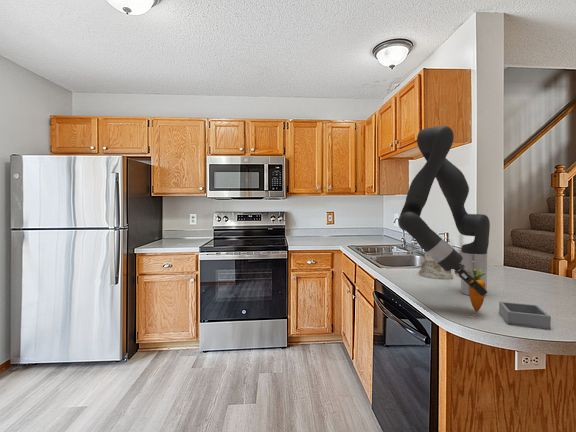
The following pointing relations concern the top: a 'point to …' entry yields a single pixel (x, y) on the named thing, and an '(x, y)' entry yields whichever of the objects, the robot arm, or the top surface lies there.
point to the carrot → (474, 295)
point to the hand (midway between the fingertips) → (483, 291)
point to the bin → (524, 315)
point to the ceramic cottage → (433, 269)
